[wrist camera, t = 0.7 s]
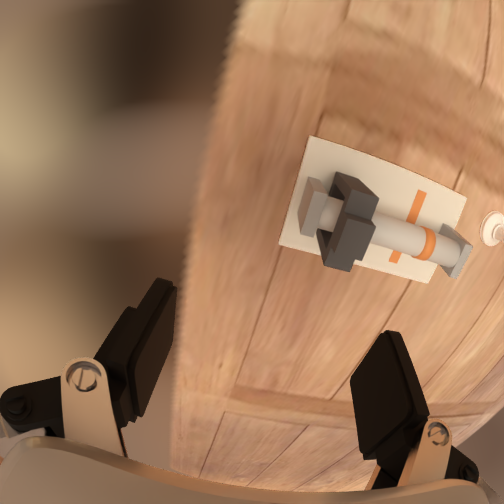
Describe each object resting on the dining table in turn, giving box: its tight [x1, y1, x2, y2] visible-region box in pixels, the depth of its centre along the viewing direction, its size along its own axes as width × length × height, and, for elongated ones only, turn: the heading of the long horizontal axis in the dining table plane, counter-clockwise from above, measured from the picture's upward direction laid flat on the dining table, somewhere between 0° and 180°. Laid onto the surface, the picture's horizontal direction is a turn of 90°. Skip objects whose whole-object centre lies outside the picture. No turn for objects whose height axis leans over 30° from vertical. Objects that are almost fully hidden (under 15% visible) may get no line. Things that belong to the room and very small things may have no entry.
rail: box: [279, 135, 473, 284], centre depth 27 cm, size 20×12×7 cm, turn 77°
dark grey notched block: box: [316, 171, 379, 272], centre depth 25 cm, size 2×7×8 cm, turn 167°
